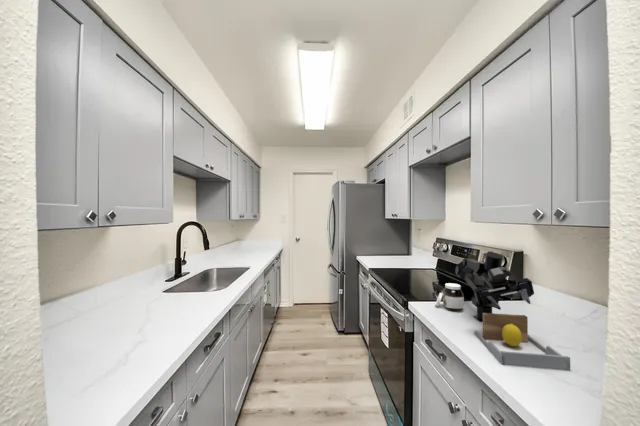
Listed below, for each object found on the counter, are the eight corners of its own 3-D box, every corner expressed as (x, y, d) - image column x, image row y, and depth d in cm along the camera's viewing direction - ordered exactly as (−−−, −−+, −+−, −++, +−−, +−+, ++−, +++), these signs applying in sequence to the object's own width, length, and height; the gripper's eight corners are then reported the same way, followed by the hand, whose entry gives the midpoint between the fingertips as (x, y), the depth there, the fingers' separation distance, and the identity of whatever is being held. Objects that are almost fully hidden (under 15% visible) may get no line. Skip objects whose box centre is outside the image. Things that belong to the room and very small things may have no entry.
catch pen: (474, 334, 101) (474, 324, 101) (527, 338, 97) (527, 327, 97) (502, 365, 80) (501, 352, 80) (570, 371, 77) (570, 357, 77)
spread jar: (466, 312, 123) (466, 287, 123) (442, 312, 123) (441, 287, 123) (454, 304, 135) (453, 281, 135) (431, 304, 135) (431, 281, 135)
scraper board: (482, 337, 98) (482, 312, 98) (525, 340, 95) (524, 315, 95) (484, 339, 96) (484, 314, 96) (527, 342, 94) (527, 316, 94)
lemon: (502, 341, 95) (502, 319, 95) (522, 346, 91) (521, 323, 92) (501, 347, 91) (501, 324, 91) (521, 352, 87) (521, 328, 87)
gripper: (464, 269, 106) (479, 292, 91) (516, 257, 101) (541, 279, 86) (471, 293, 108) (487, 318, 93) (522, 282, 103) (547, 307, 88)
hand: (514, 305), depth 90 cm, fingers open, 9 cm apart
